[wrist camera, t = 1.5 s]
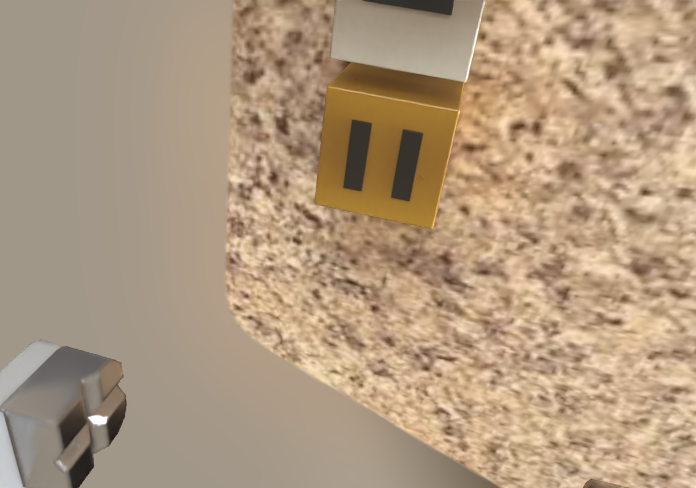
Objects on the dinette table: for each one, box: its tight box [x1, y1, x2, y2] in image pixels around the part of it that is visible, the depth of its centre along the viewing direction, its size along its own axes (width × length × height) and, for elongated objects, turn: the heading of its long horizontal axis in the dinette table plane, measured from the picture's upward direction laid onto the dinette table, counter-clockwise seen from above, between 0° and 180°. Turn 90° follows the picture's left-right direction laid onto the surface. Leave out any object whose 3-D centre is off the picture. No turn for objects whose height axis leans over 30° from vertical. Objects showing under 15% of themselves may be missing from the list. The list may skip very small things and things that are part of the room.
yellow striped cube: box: [315, 62, 465, 229], centre depth 22 cm, size 5×5×5 cm
